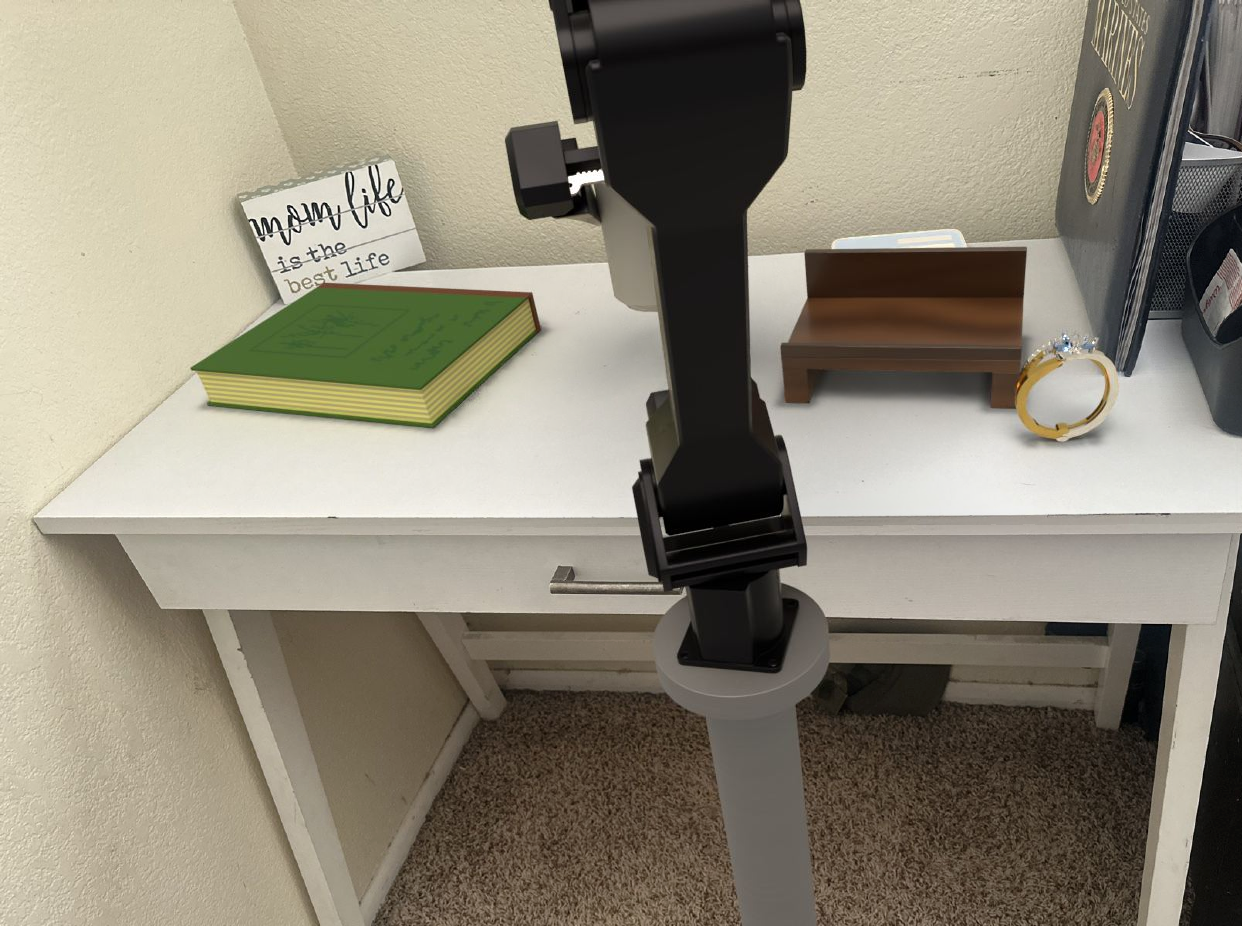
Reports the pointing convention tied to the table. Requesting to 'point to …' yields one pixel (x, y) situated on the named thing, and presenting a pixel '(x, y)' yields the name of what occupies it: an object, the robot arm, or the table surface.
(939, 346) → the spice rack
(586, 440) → the table surface
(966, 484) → the table surface
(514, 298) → the hardcover book
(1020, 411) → the ring
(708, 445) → the robot arm
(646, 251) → the can
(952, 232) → the calculator
